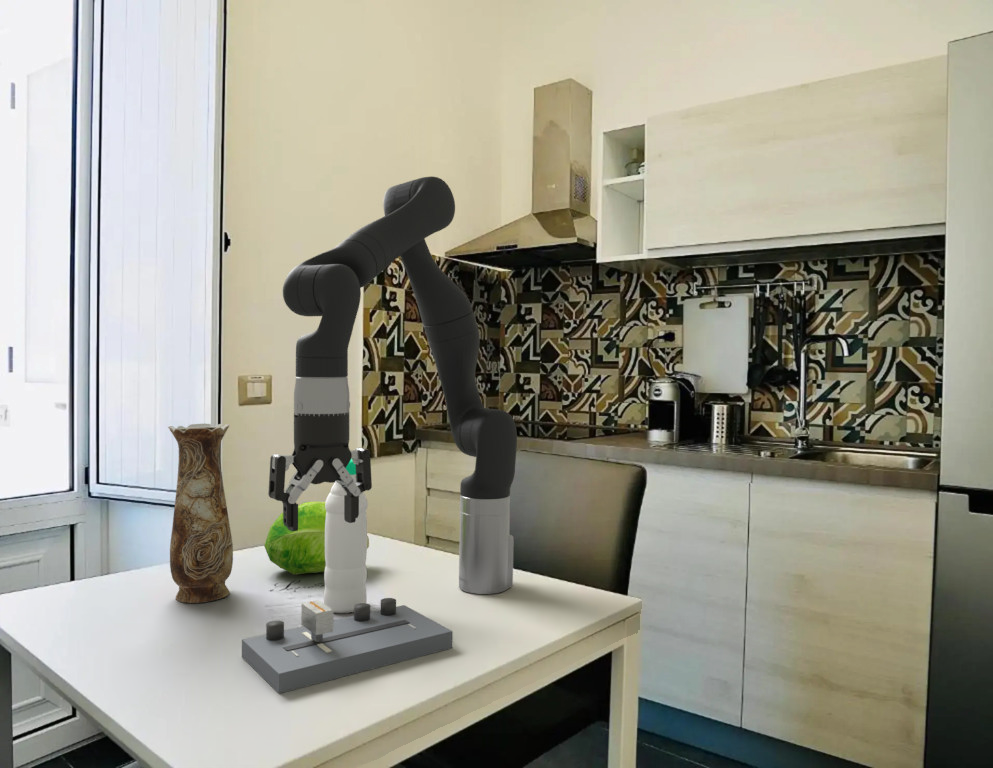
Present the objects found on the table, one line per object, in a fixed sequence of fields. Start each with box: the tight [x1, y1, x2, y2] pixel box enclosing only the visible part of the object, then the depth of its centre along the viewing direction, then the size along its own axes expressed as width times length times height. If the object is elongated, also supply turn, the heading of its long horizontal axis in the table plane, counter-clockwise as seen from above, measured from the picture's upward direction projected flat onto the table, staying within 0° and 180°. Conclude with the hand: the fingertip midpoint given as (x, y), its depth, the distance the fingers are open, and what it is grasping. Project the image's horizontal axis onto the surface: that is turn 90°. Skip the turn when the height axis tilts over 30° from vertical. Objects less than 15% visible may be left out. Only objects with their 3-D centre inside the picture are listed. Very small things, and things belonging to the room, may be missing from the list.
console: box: [241, 597, 454, 694], centre depth 106 cm, size 26×14×4 cm, turn 127°
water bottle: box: [323, 458, 369, 614], centre depth 125 cm, size 7×7×25 cm
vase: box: [167, 423, 234, 604], centre depth 129 cm, size 10×11×30 cm
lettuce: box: [263, 500, 370, 575], centre depth 146 cm, size 15×20×14 cm
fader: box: [300, 599, 334, 642], centre depth 103 cm, size 2×5×5 cm, turn 37°
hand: (321, 525), depth 103 cm, fingers open, 8 cm apart
